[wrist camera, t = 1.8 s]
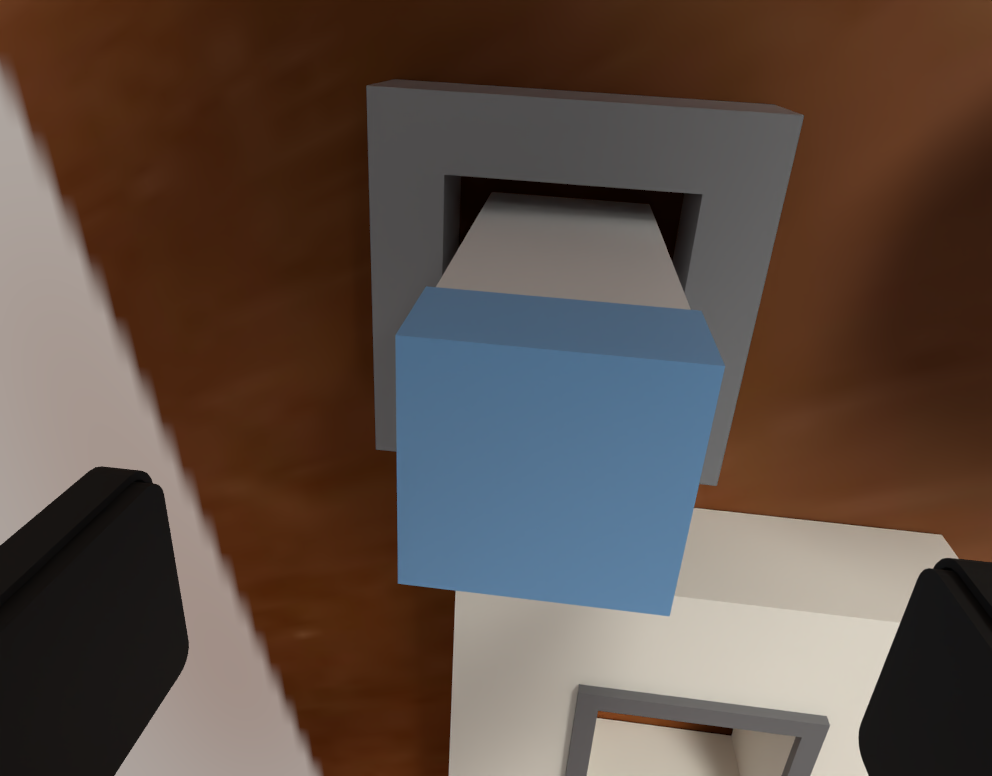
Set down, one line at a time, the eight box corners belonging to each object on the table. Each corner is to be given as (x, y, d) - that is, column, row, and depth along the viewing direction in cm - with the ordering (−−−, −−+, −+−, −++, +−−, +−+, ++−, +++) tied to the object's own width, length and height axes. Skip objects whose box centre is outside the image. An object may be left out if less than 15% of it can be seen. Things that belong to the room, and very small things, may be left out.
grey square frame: (394, 79, 17) (366, 85, 15) (774, 104, 16) (804, 115, 14) (397, 406, 21) (375, 449, 19) (702, 436, 20) (716, 485, 18)
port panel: (476, 484, 22) (453, 583, 18) (941, 535, 21) (1025, 652, 17) (462, 772, 28) (442, 893, 24) (819, 822, 27) (859, 957, 23)
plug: (488, 187, 18) (394, 334, 9) (654, 200, 18) (725, 366, 9) (480, 339, 20) (398, 583, 11) (630, 353, 20) (669, 616, 11)
